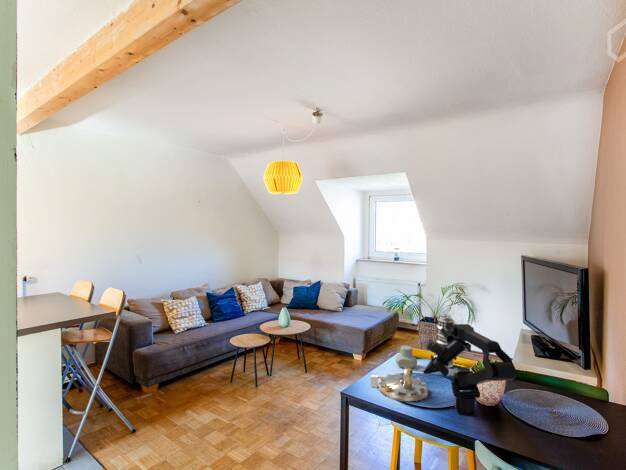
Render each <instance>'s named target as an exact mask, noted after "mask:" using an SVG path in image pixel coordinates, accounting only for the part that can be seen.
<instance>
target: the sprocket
mask: <svg viewBox="0 0 626 470" xmlns="http://www.w3.org/2000/svg"><path fill="white" fill-rule="evenodd" d="M413 373H414V371H413V369H412V368H403V374H401V373H399V372H396V373H395V374H391V373H387V374H386V376H381V377H382V379H381V378H380V380H379V382H380V385H381V386H385V391H392V392H394V395H399V394H404V395H406V396H407V397H411V395H413V394H416V395H417V396H420V395H421V392H426V387H427V383H426V382H425V381H421V377H418V376H417V377H413Z"/></svg>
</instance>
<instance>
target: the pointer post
mask: <svg viewBox="0 0 626 470" xmlns="http://www.w3.org/2000/svg"><path fill="white" fill-rule="evenodd" d="M382 377H383V376H379V375H377V374H371V375H370V388H375V389H376V388H377V389H378V388H379V379H380V380H381V379H382Z"/></svg>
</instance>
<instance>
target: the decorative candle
mask: <svg viewBox="0 0 626 470" xmlns="http://www.w3.org/2000/svg"><path fill="white" fill-rule="evenodd" d="M447 323H452V325H453V324H454V319H453V318H452V317H451V316H446V315H440V317H438V318H437V325H436V326H435V328H436V329H435V331H436V335H435V337H436V343H438V344H439V345H441V346H442V345H444V344H446V345H447V344H448V342H447V341H446V339H445V338H444V336H443V335H442V333H441V329H442V327H444V326H445V325H447ZM453 366H454V359H453V360H452V361H451V362H449V365H448V366H447V367H448V368H452V367H453Z"/></svg>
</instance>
